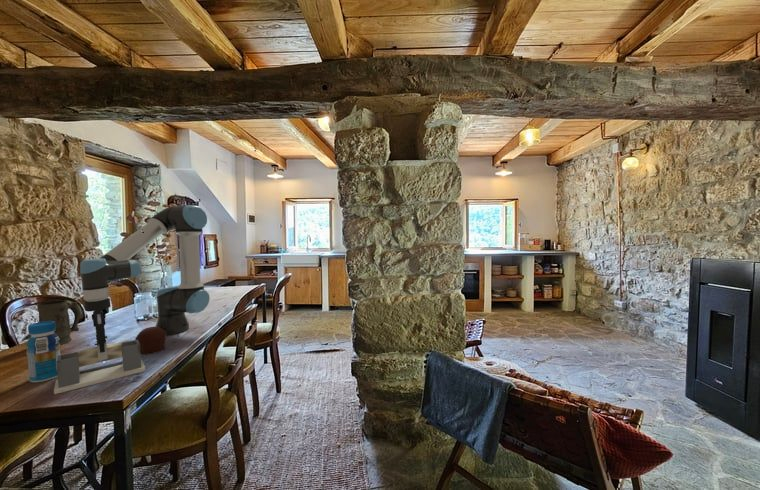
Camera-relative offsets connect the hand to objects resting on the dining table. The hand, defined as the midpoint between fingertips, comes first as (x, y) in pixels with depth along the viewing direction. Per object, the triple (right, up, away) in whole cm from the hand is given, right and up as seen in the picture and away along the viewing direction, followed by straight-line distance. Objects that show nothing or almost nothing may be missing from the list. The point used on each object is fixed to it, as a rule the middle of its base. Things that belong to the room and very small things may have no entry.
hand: (102, 357), depth 124 cm
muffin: (+8, -2, +15) cm, 18 cm away
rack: (+8, -4, -9) cm, 13 cm away
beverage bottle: (-13, -4, -9) cm, 16 cm away
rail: (0, -1, 0) cm, 1 cm away
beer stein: (-45, -3, +29) cm, 54 cm away
